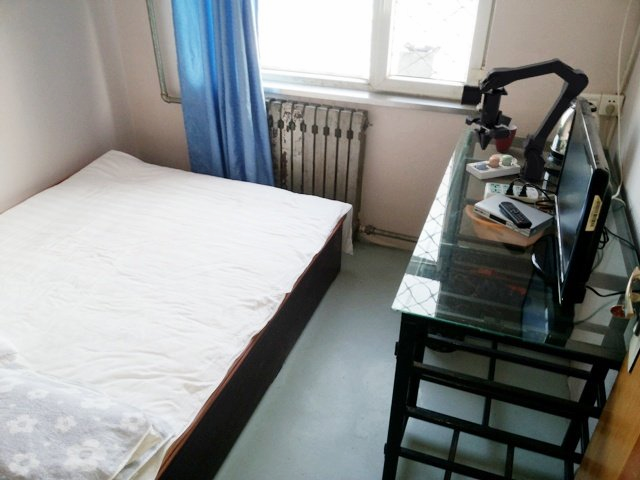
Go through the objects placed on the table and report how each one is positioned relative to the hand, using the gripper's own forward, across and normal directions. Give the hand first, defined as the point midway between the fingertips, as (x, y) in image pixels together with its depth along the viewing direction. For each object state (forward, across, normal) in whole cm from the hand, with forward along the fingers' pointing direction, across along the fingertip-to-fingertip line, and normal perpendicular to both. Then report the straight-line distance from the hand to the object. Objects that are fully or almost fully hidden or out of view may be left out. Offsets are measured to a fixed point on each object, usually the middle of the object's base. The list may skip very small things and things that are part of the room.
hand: (483, 149), depth 186 cm
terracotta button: (+7, 0, -6) cm, 9 cm away
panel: (+9, 0, -6) cm, 11 cm away
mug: (+9, +18, -23) cm, 31 cm away
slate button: (+8, 0, 0) cm, 9 cm away
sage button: (+7, 0, -11) cm, 13 cm away
